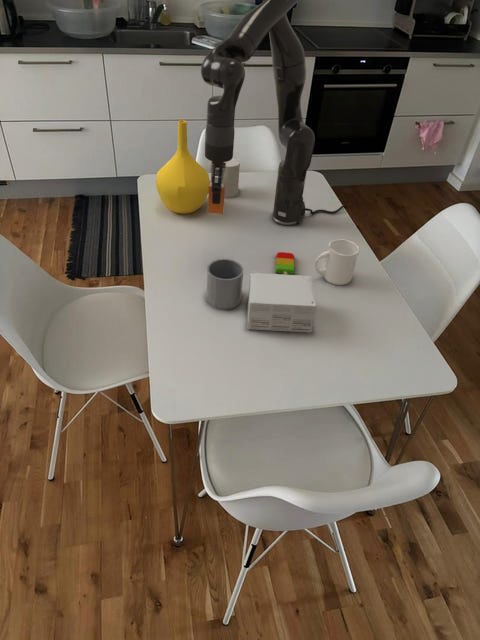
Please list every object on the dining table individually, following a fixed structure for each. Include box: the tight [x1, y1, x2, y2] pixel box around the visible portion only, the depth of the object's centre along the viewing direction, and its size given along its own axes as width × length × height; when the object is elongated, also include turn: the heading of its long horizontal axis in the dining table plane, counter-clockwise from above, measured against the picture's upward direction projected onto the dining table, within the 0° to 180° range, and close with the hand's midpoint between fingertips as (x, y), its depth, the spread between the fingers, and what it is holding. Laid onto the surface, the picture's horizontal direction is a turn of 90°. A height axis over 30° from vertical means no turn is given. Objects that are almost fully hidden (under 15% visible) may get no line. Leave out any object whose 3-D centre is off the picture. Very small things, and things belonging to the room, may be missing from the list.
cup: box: [223, 157, 241, 199], centre depth 184 cm, size 8×8×12 cm
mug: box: [314, 238, 360, 286], centre depth 148 cm, size 9×12×11 cm
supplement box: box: [246, 272, 317, 334], centre depth 133 cm, size 17×13×9 cm
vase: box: [155, 119, 211, 215], centre depth 168 cm, size 18×18×30 cm
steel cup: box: [206, 258, 244, 310], centre depth 137 cm, size 10×10×10 cm
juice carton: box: [207, 180, 225, 215], centre depth 142 cm, size 4×3×8 cm
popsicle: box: [275, 251, 296, 275], centre depth 152 cm, size 6×15×2 cm, turn 176°
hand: (216, 199), depth 142 cm, fingers closed on juice carton, 3 cm apart
